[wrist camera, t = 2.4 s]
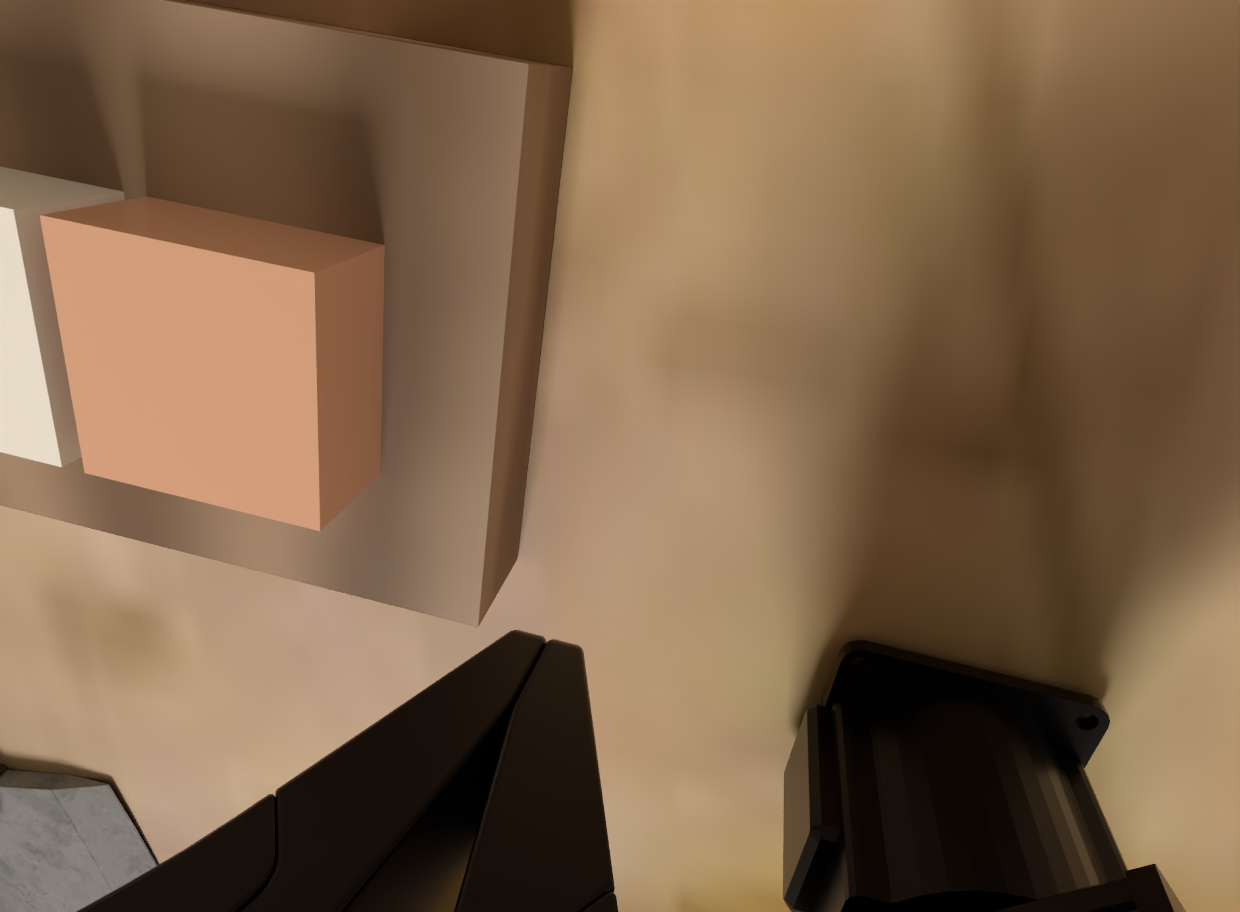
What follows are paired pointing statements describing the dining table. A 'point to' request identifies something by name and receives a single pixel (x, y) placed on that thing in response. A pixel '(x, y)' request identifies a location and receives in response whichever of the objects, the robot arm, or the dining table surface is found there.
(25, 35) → the tan board
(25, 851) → the cleaver
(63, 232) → the terracotta tile
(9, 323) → the cream tile
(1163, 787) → the dining table surface
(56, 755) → the dining table surface
